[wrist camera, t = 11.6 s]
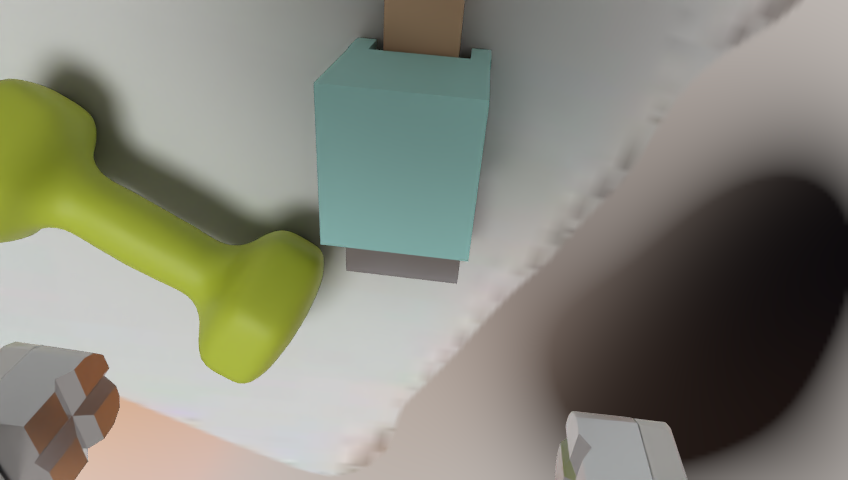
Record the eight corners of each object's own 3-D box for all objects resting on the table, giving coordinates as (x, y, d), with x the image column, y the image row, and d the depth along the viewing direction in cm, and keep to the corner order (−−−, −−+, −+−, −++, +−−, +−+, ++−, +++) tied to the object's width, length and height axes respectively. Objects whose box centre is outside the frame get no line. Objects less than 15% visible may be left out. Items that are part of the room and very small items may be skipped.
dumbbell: (13, 169, 28) (-117, 242, 22) (47, 41, 24) (-101, 86, 18) (287, 323, 32) (239, 421, 26) (354, 232, 28) (316, 323, 22)
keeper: (357, 37, 23) (312, 82, 17) (491, 50, 22) (491, 100, 16) (357, 168, 26) (319, 244, 20) (474, 180, 25) (469, 261, 20)
